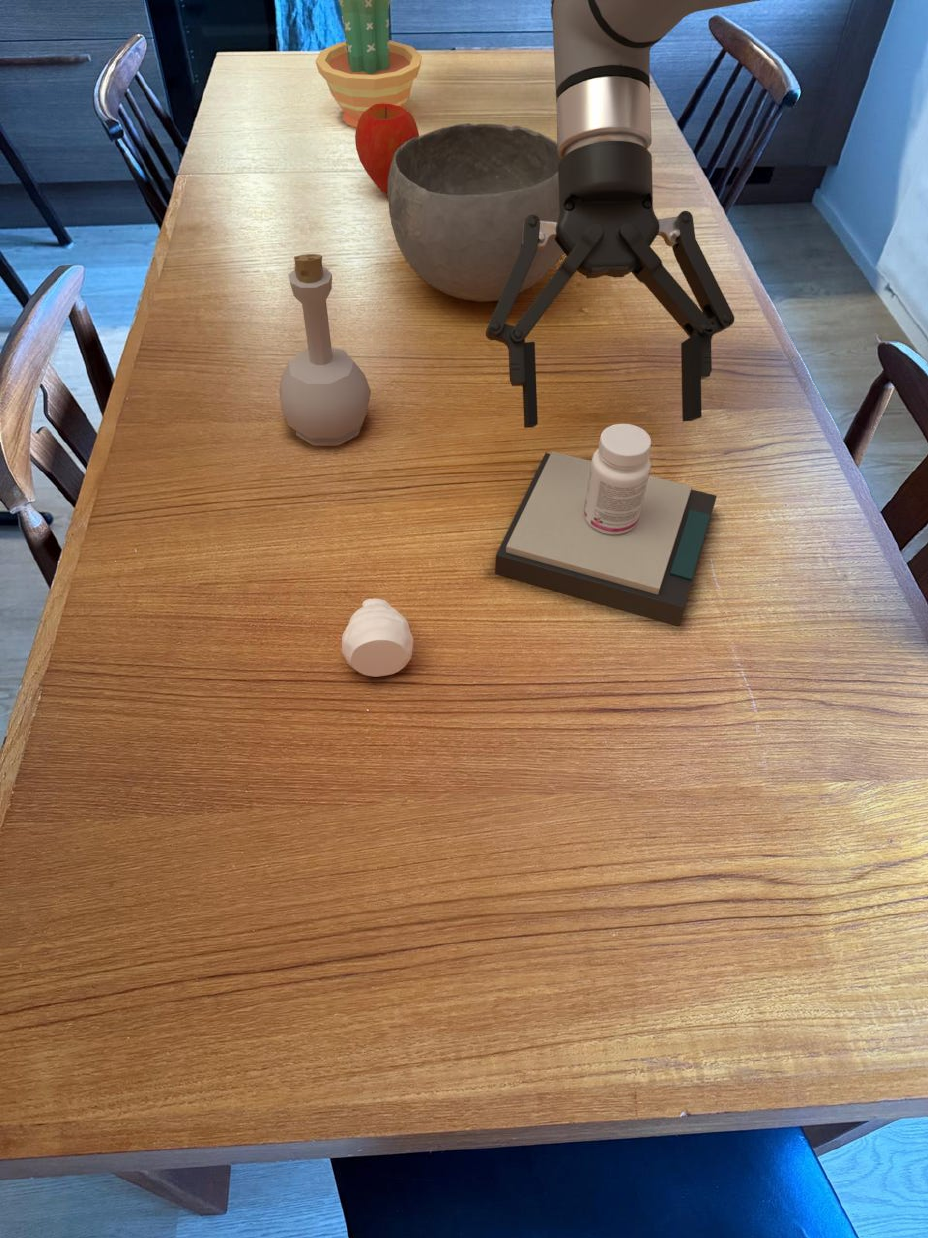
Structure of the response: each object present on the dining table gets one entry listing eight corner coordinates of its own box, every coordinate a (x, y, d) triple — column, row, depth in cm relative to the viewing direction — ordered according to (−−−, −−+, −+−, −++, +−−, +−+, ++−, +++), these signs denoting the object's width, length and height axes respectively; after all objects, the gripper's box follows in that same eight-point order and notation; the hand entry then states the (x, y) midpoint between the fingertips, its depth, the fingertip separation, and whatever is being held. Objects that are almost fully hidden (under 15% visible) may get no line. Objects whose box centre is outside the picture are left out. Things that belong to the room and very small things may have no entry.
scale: (711, 514, 82) (719, 488, 79) (678, 626, 73) (686, 601, 71) (543, 471, 85) (546, 445, 83) (494, 573, 77) (496, 547, 74)
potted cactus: (383, 88, 142) (373, -111, 123) (444, 120, 135) (443, -86, 115) (301, 113, 136) (276, -93, 116) (360, 148, 128) (344, -66, 109)
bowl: (581, 253, 111) (596, 124, 99) (546, 346, 98) (558, 211, 86) (422, 229, 114) (419, 102, 102) (368, 316, 101) (358, 182, 90)
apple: (346, 187, 121) (338, 100, 112) (400, 172, 124) (397, 86, 116) (378, 213, 116) (372, 125, 108) (433, 196, 119) (432, 109, 111)
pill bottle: (650, 524, 76) (668, 446, 70) (604, 543, 75) (619, 466, 68) (617, 490, 79) (632, 413, 72) (572, 508, 77) (583, 431, 71)
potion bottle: (288, 458, 86) (257, 285, 72) (282, 401, 91) (252, 230, 77) (379, 447, 87) (366, 275, 73) (367, 392, 92) (353, 222, 79)
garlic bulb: (408, 616, 74) (405, 572, 69) (416, 675, 70) (414, 632, 66) (341, 623, 73) (335, 579, 69) (345, 683, 69) (339, 640, 65)
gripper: (738, 170, 77) (741, 421, 79) (448, 177, 75) (459, 433, 78) (773, 132, 69) (776, 410, 72) (452, 138, 68) (465, 423, 70)
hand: (611, 423), depth 75 cm, fingers open, 13 cm apart
